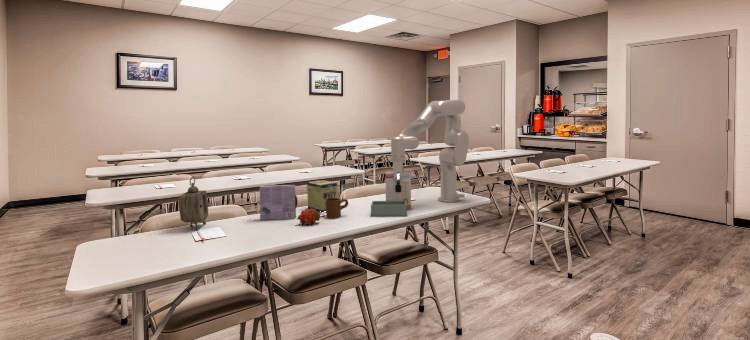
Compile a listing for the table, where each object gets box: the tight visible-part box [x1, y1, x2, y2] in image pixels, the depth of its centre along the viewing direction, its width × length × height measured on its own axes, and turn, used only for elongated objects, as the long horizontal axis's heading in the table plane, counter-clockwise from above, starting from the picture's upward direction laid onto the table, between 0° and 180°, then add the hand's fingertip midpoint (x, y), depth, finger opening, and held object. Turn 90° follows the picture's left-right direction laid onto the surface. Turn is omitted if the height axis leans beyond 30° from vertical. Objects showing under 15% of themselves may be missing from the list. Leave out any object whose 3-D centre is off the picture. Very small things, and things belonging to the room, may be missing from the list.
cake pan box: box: [259, 184, 298, 221], centre depth 225 cm, size 19×5×18 cm, turn 100°
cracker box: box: [384, 170, 412, 210], centre depth 243 cm, size 14×6×21 cm, turn 84°
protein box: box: [306, 179, 338, 213], centre depth 245 cm, size 10×16×16 cm
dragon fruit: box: [296, 208, 321, 226], centre depth 214 cm, size 8×8×12 cm
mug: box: [325, 197, 349, 219], centre depth 228 cm, size 12×8×9 cm, turn 110°
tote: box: [370, 200, 408, 217], centre depth 231 cm, size 19×11×6 cm, turn 86°
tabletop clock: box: [178, 176, 209, 230], centre depth 210 cm, size 14×9×25 cm, turn 5°
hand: (398, 190), depth 243 cm, fingers closed on cracker box, 6 cm apart
